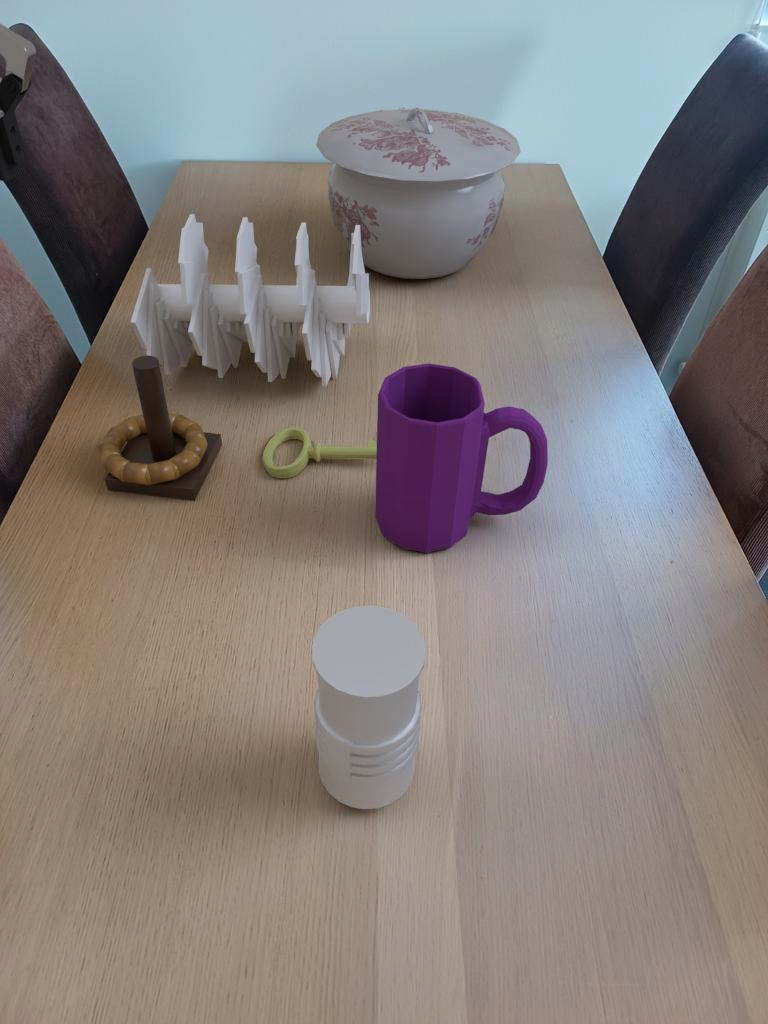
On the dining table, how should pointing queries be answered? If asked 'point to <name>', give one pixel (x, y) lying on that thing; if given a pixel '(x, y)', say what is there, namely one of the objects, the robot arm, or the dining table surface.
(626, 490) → the dining table surface
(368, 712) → the white lidded bottle
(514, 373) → the dining table surface
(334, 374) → the spiral staircase
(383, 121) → the chamber pot
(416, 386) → the mug
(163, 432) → the peg stand
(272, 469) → the key
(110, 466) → the ring
